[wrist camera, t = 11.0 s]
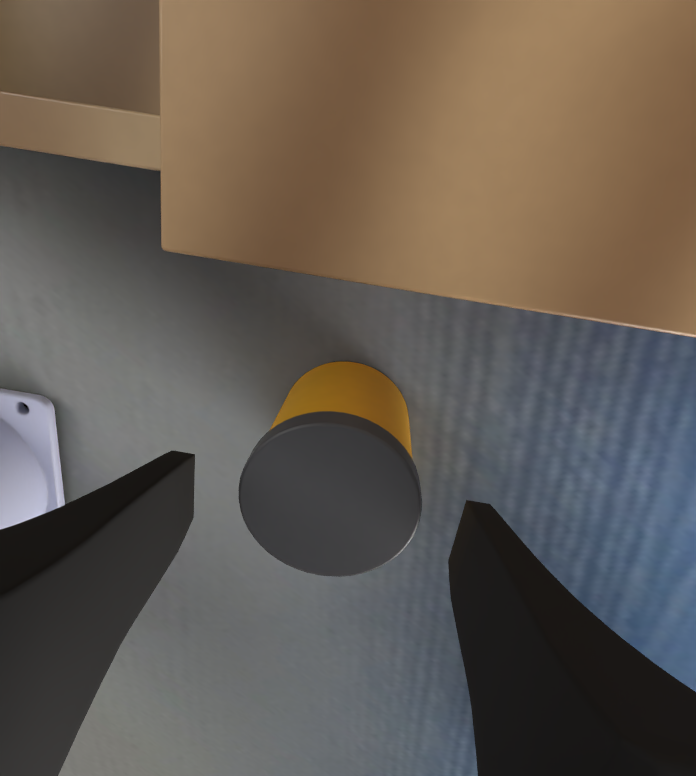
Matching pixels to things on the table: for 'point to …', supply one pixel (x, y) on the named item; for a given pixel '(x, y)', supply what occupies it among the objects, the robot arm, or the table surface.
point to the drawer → (82, 79)
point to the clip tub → (334, 474)
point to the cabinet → (441, 147)
